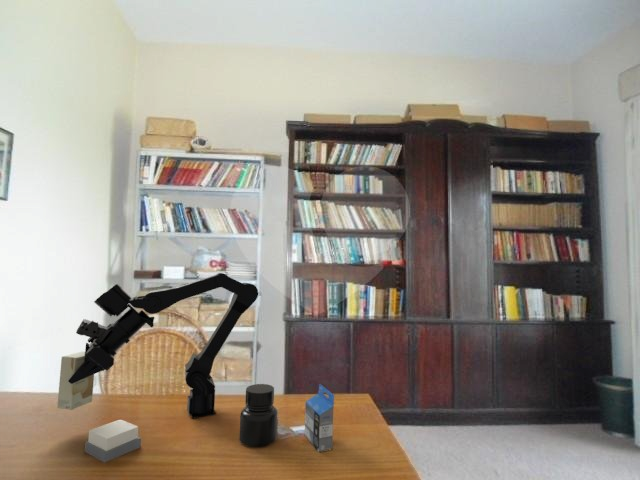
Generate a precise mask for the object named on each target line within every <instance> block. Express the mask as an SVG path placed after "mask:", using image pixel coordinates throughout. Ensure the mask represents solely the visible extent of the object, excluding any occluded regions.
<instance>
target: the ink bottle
mask: <svg viewBox="0 0 640 480" xmlns="http://www.w3.org/2000/svg"><path fill="white" fill-rule="evenodd" d="M274 398H275V386H273V385H270V384H268V383H267V384H265V383H256V384H250V385H248V386H246V389H245V407H244V408H243V409H241V411H240V416H239V418H240V419H239V437H238V438H239V442H240V443H241V444H242V445H244V446H247V447H250V448H264V447H267V446H270V445H271V444H273V443H275V441H276V440H277V437H278V423H279V422H278V420H279V417H278V415H279V414H278V410H277V408H276V406H274V404H275V403H274V400H275V399H274Z"/></svg>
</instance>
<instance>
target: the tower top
mask: <svg viewBox="0 0 640 480" xmlns="http://www.w3.org/2000/svg"><path fill="white" fill-rule="evenodd" d="M138 437H139V425H136V424H133V423H130V422H128V421H125V420H123V419H118V420H114V421H112V422H109V423H106V424H103V425H101V426H97V427H95V428H92V429H89V431H88V440H87V441H88V442H89V443H91V444H93V445H95V446H97V447H99V448H101V449H103V450H105V451H108V450H110V449H112V448H115V447H117V446H120V445H122V444H124V443H127V442H129V441H132V440H134V439H136V438H138Z"/></svg>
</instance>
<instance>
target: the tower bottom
mask: <svg viewBox="0 0 640 480" xmlns="http://www.w3.org/2000/svg"><path fill="white" fill-rule="evenodd" d="M141 446H142V437H140V436H138V438H136V439H134V440H132V441H129V442H127V443H124V444H122V445H120V446H117V447H115V448H112V449H110V450H108V451H105V450H103V449H101V448H99V447H97V446H95V445H93V444H91V443H89V442H88V440H87V441H85V444H84V452H85V453H87V454H88V455H90V456H91V457H93V458H95V459H97V460H98V461H101V462H102V463H107V462H109V461H112V460H115V459H116V458H118V457H121V456H123V455H125V454H127V453H130V452H132V451H135V450H138V449H140V448H141Z"/></svg>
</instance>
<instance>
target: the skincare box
mask: <svg viewBox="0 0 640 480" xmlns="http://www.w3.org/2000/svg"><path fill="white" fill-rule="evenodd" d="M84 359H85V351H80V352H75V353H71V354H68V355H64V356H61V361H60V372H59V383H58V384H59V385H58V392H57V393H58V395H57V406H56V407H57V408H56V409H61V410H70V411H72V410H75V409H77V408H80V407H82V406H85V405H88V404H89V403H92V402H93V393H94V381H95V380H94V379H95V374H93V375H91V376H88V377H86V378H84V379H82V380H79V381H77V382H75V383H73V384H71V383H69V382H68V380H69V379H70V378H71V376H72V375H73V374H74V373H75V372H76V370H77V369H78V368H79V367H80V365H81V364H82V363H83V362H84Z"/></svg>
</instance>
